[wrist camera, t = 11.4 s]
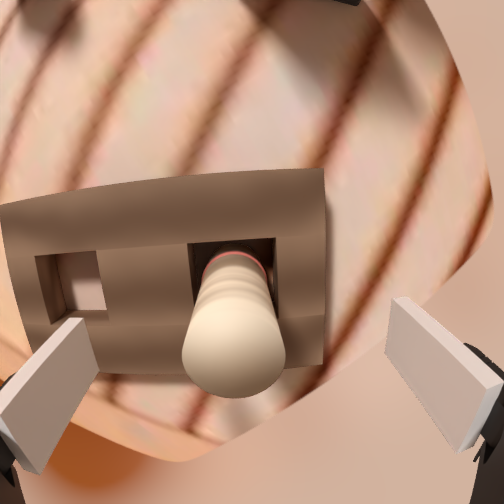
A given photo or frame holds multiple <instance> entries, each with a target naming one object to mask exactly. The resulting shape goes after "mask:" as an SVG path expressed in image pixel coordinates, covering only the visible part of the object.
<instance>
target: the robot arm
mask: <svg viewBox="0 0 504 504" xmlns="http://www.w3.org/2000/svg"><path fill="white" fill-rule="evenodd" d="M385 355H386V356H387V357H388V359H389V360H390V361H391V363H392V364H393V365H394V367H395V368H396V369H397V371H398V372H399V373H400V375H401V376H402V378H403V379H404V380H405V382H406V383H407V385H408V386H409V387H410V389H411V390H412V391H413V393H414V394H415V395H416V397H417V398H418V400H419V401H420V403H421V404H422V405H423V407H424V408H425V410H426V411H427V412H428V414H429V415H430V417H431V418H432V420H433V421H434V423H435V424H436V425H437V427H438V428H439V430H440V431H441V433H442V434H443V436H444V437H445V439H446V440H447V442H448V443H449V444H450V446H451V447H452V449H453V450H454V452H455V453H456V454H457V453H460V452H462V451H464V450H466V449H468V448H470V447H473V446H474V444H475V442H476V441H477V439H478V437H479V435H480V434H481V435H482V436H483V437H484V439H485V441H484V442H483V444H482V446H481V448H480V449H479V451H478V453H477V454H476V456H475V458H474V460H473V462H476V460H477V459H478V457H479V456H480V458H479V464H478V470H477V474H476V479H475V483H474V488H473V492H472V496H471V500H470V503H469V504H504V372H503V371H502V370H501V369H500V368H499V367H498V366H497V365H496V364H495V363H492V361H491V360H490V359H489V358H488V357H485V355H484V354H483V353H482V352H481V351H480V350H479V349H477V348H475V347H474V346H471V345H469V344H467V343H462V342H460V341H459V340H458V339H457V338H456V337H455V336H454V335H452V334H451V333H450V332H449V331H448V330H447V329H445V328H444V327H443V326H442V325H441V324H440V323H438V322H437V321H436V320H435V319H434V318H433V317H431V316H430V315H429V314H428V313H426V312H425V311H424V310H423V309H422V308H421V307H419V306H418V305H417V304H416V303H415V302H413V301H412V300H411V299H410V298H408V297H407V296H405V297H398V298H392V302H391V311H390V319H389V326H388V334H387V341H386V347H385ZM98 372H99V368H98V365H97V362H96V359H95V356H94V352H93V349H92V346H91V343H90V339H89V336H88V332H87V329H86V325H85V322H84V318H69V319H68V320H67V321H66V322H65V323H64V324H63V325H62V326H61V327H60V328H59V329H58V330H57V331H56V332H55V333H54V334H53V335H52V336H51V337H50V338H49V339H48V340H47V341H46V342H45V343H44V344H43V345H42V346H41V347H40V348H39V349H38V350H37V351H36V352H35V353H34V354H33V355H32V356H31V358H30V359H29V360H28V361H27V362H26V363H25V364H24V365H23V366H22V367H21V368H20V369H19V370H18V371H17V372H16V373H14V374H13V375H11V376H10V377H9V378H8V379H7V380H6V381H5V382H4V383H3V384H2V386H1V387H0V504H25V500H24V497H23V494H22V490H21V487H20V483H19V479H18V475H17V471H16V469H15V467H14V466H13V465H12V464H13V462H14V460H15V459H16V460H17V461H18V462H19V464H20V465H21V467H22V468H23V469H24V470H26V471H29V472H32V473H35V474H38V475H41V473H42V471H43V469H44V467H45V465H46V463H47V461H48V460H49V458H50V456H51V454H52V452H53V450H54V448H55V446H56V445H57V443H58V441H59V439H60V437H61V435H62V434H63V432H64V430H65V428H66V427H67V425H68V423H69V421H70V419H71V418H72V416H73V414H74V412H75V411H76V409H77V407H78V406H79V404H80V402H81V400H82V399H83V397H84V395H85V394H86V392H87V390H88V389H89V387H90V385H91V384H92V382H93V380H94V379H95V377H96V375H97V374H98Z"/></svg>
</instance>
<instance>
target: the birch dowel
mask: <svg viewBox="0 0 504 504" xmlns="http://www.w3.org/2000/svg"><path fill="white" fill-rule="evenodd" d="M285 356H286V355H285V348H284V344H283V340H282V337H281V333H280V329H279V326H278V322H277V319H276V315H275V311H274V308H273V304H272V301H271V297H270V293H269V290H268V286H267V277H266V273H265V270H264V268H263V266H262V265H261V261H260V259H259V257H258V255H257V254H256V253H255V251H254V250H252V249H251V248H250V247H248V246H246V245H243V244H239V243H230V244H226V245H223V246H221V247H220V248H218V249H217V250H216V251H215V252H214V253H213V254H212V255H211V257H210V259H209V262H208V264H207V266H206V268H205V270H204V273H203V276H202V284H201V287H200V291H199V294H198V297H197V300H196V304H195V307H194V310H193V314H192V317H191V320H190V324H189V327H188V331H187V334H186V337H185V341H184V344H183V349H182V361H183V365H184V368H185V370H186V373H187V374H188V376H189V377H190V379H191V380H192V381H193V382H194V383H195V384H196V385H197V386H199V387H200V388H201V389H203V390H205V391H206V392H208V393H210V394H213V395H216V396H219V397H224V398H245V397H249V396H253V395H256V394H258V393H260V392H262V391H264V390H266V389H267V388H268V387H270V386H271V385H272V384H273V383H274V382H275V381H276V380H277V379H278V377H279V376H280V374H281V372H282V370H283V368H284V364H285Z"/></svg>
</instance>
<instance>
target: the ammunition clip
mask: <svg viewBox="0 0 504 504" xmlns="http://www.w3.org/2000/svg"><path fill="white" fill-rule="evenodd" d="M334 1H338V2H342V3H346V4H350V5H353V6H357V5H358V4H359V2H360V1H361V0H334Z"/></svg>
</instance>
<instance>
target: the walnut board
mask: <svg viewBox="0 0 504 504" xmlns="http://www.w3.org/2000/svg"><path fill="white" fill-rule="evenodd" d="M0 222H1V229H2V236H3V242H4V248H5V253H6V258H7V263H8V268H9V273H10V277H11V282H12V286H13V290H14V294H15V298H16V302H17V305H18V309H19V312H20V316H21V319H22V322H23V326H24V329H25V332H26V335H27V338H28V341H29V344H30V347H31V349H32V352H33V354H34V353H35V352H36V351H37V350H38V349H39V348H40V347H41V346H42V345H43V344H44V343H45V342H46V341H47V340H48V339H49V338H50V337H51V336H52V335H53V334H54V333H55V332H56V331H57V330H58V329H59V328H60V327H61V326H62V325H63V324H64V323H65V322H66V321H67V320H68V319H69V318H84V322H85V325H86V329H87V332H88V336H89V339H90V343H91V346H92V349H93V352H94V356H95V359H96V362H97V365H98V368H99V373H117V374H148V375H187V373H186V370H185V368H184V365H183V361H182V349H183V344H184V341H185V337H186V334H187V331H188V327H189V324H190V320H191V317H192V314H193V310H194V307H195V304H196V300H197V297H198V294H199V288H198V279H197V270H196V260H195V251H194V243H200V242H214V241H228V240H243V239H258V238H271V240H272V263H273V288H274V302H272V304H273V308H274V311H275V315H276V319H277V322H278V326H279V329H280V333H281V337H282V340H283V344H284V348H285V355H286V356H285V364H284V368H283V369H286V368H296V367H304V366H313V365H320V364H323V346H324V323H325V286H326V225H325V187H324V168H309V169H277V170H256V171H239V172H224V173H211V174H199V175H188V176H178V177H168V178H159V179H150V180H142V181H134V182H127V183H119V184H112V185H105V186H98V187H92V188H86V189H80V190H74V191H68V192H62V193H57V194H51V195H46V196H41V197H36V198H31V199H26V200H21V201H16V202H12V203H7V204H3V205H0ZM84 251H96V255H97V261H98V267H99V273H100V278H101V283H102V289H103V293H104V298H105V303H106V308H107V310H67V309H66V305H65V301H64V296H63V292H62V288H61V283H60V279H59V274H58V269H57V264H56V258H55V254H60V253H72V252H84Z"/></svg>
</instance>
